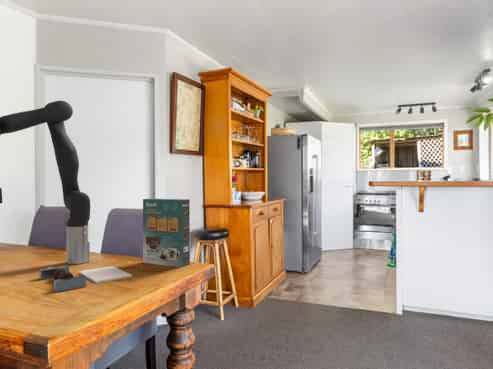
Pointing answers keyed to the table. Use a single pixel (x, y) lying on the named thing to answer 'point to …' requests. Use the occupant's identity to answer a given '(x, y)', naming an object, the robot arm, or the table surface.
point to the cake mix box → (166, 232)
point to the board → (104, 274)
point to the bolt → (61, 274)
